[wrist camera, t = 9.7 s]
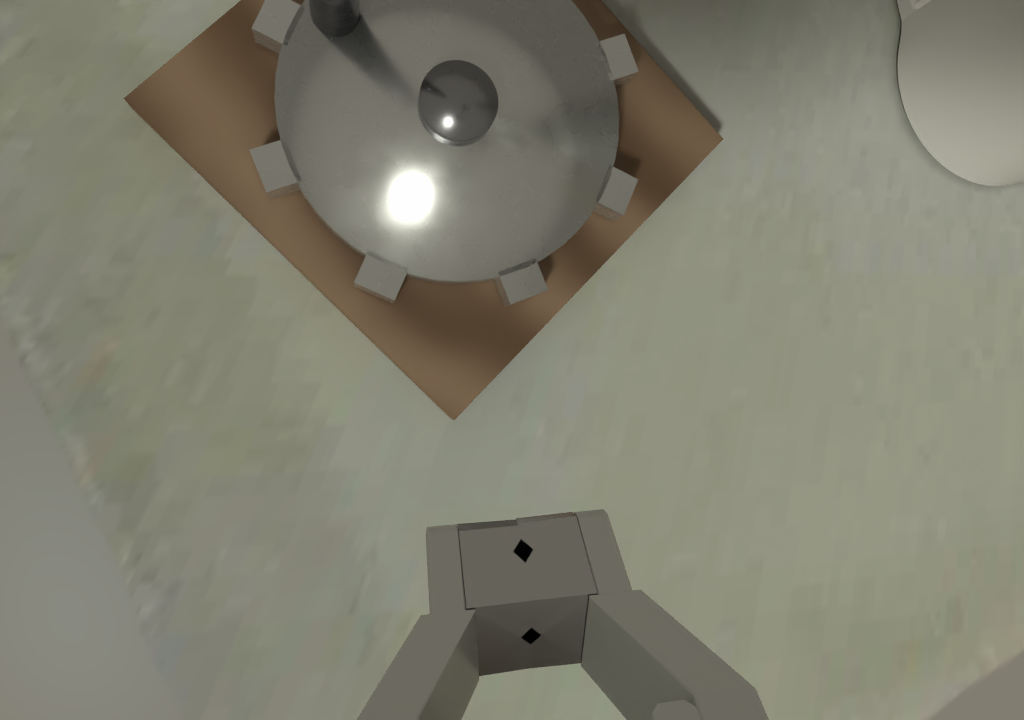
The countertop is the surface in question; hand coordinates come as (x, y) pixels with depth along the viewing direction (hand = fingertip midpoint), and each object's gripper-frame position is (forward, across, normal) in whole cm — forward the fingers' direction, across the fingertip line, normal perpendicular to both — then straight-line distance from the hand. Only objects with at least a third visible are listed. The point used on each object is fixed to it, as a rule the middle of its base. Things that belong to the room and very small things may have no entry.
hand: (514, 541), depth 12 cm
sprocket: (+31, -1, +3) cm, 31 cm away
